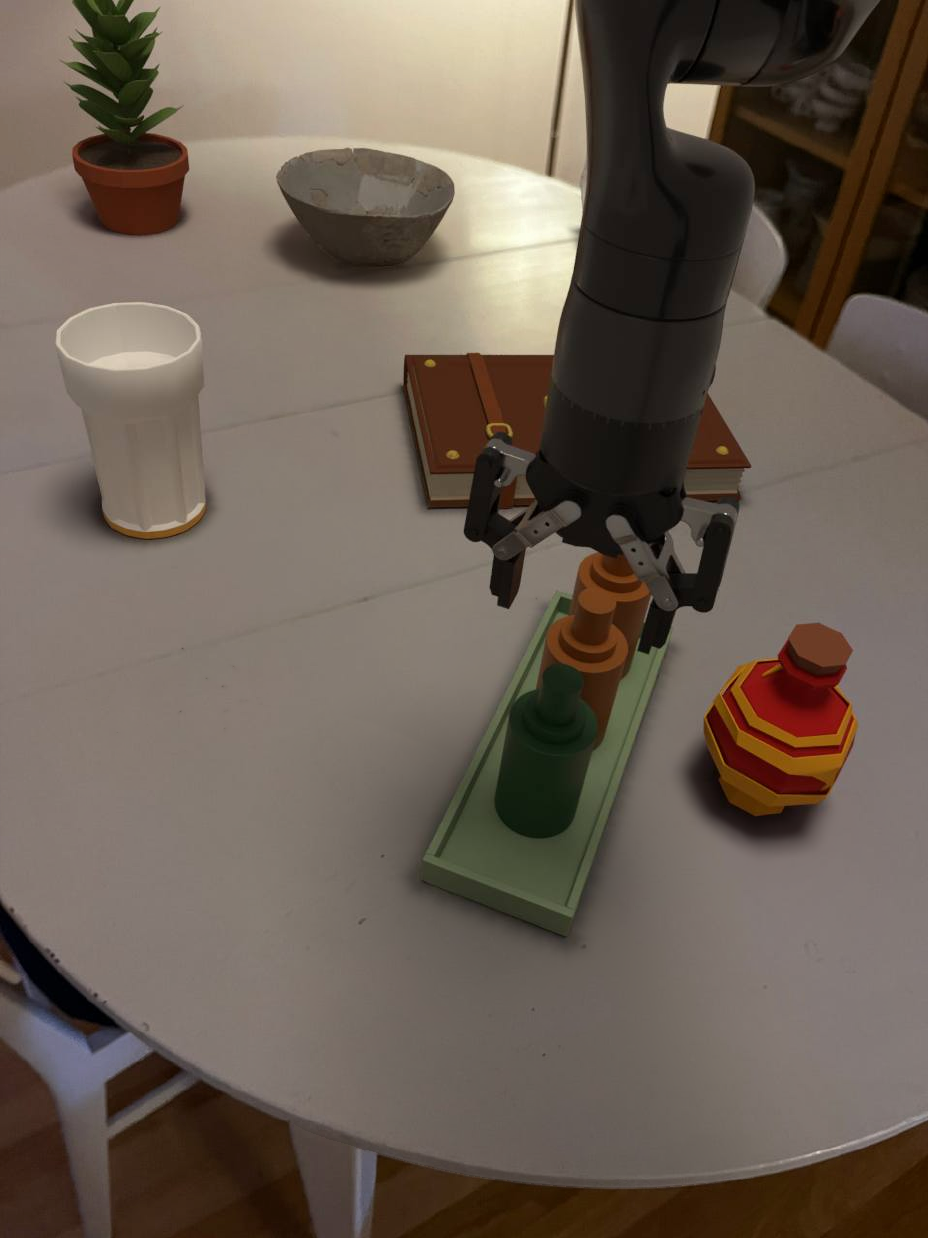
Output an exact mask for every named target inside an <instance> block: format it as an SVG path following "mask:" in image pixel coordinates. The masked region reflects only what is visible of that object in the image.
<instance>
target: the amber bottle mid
mask: <svg viewBox="0 0 928 1238" xmlns="http://www.w3.org/2000/svg"><path fill="white" fill-rule="evenodd" d="M615 608H616V600H615V598H614V596H613V595H612V594H611V593H609V592H608V591H606V590H603V589H600V588H588V589H585V590H583V591H582V592H581V593H580V594H579V596H578V600H577V605H576V609H575V614H574V615H570V616H566V617H563V618H561V619H559V620H557V621H556V622H554V623H553V624H552V625H551V626H550V628H549V630H548V632H547V635H546V640H545V645H544V650H543V655H542V660H541V665H540V670H539V675H538V680H537V685H536V689H540V684H541V679H542V674H543V672H544V670H545V669H546V668H547V667H549V666H550V665H553V664H567V665H570V666H573V667H574V668H576V669H577V670H578V671H579V672H580V673H581V674H582V676H583V679H584V684H583V688H582V692H581V696H580V698H581V699H582V700H583V701H585V702H586V703H587V704H588V705H589V706H590V708H591V709H592V710H593V712H594V714H595V716H596V718H597V722H598V732H597V736H596V740H595V744H594V747H593V750H595V749H596V748H597V747H598V746H599V745H600V744H601V743H602V741H603V739H604V736H605V733H606V729H607V726H608V722H609V719H610V715H611V711H612V708H613V704H614V701H615V697H616V694H617V690H618V686H619V683H620V679H621V676H622V672H623V668H624V665H625V661H626V658H627V654H628V644H627V640H626V638H625V636H624V635H623V633H622V632H621V631H620V630H619V629H618V628H617V627H616V626H614V625H613V624H612V620H613V616H614V612H615Z"/></svg>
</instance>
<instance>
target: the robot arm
mask: <svg viewBox="0 0 928 1238" xmlns="http://www.w3.org/2000/svg"><path fill="white" fill-rule="evenodd" d="M880 1H881V0H573V3H574V5H573V6H574V14H575V23H576V24H575V25H576V31H577V32H576V33H577V39H578V47H579V48H578V50H579V56H580V64H581V73H582V84H583V93H584V94H583V95H584V110H585V130H586V131H585V133H586V170H587V175H586V190H585V199H584V205H583V210H581V211H582V212H581V213H582V215H581V220H580V226H579V234H578V240H577V245H576V252H575V256H574V264H573V269H572V270H573V271H572V274H571V279H570V284H569V287H568V291H567V293H566V297H565V300H564V303H563V307H562V310H561V315H560V316H559V322H558V327H557V332H556V337H555V338H556V339H555V347H554V351H553V355H554V357H553V364H552V370H551V376H550V383H549V389H548V395H547V402H546V408H545V414H544V421H543V427H542V433H541V440H540V446H539V450H538V451H537V452H536V453H535V454H534V453H531V452H528V451H525V450H522V449H519V448H517V447H514V446H512V439H511V437H510V436H509V435H508V434H506V433H504V432H496V433H494V434H493V436H492V437H491V439H490V440H489V441H488V443H487V444H486V446H485V447H484V449H483V450H482V451H481V453H480V454H479V456H478V457H477V459H476V464H475V470H474V475H473V481H472V486H471V492H470V497H469V503H468V506H467V509H466V515H465V520H464V525H463V535H464V537H465V538H466V539H467V540H468V541H470V542H473V543H479V542H482V543H484V544H485V545H486V546H488V547H489V548H490V549H491V551H492V554H493V558H492V565H491V573H490V580H489V587H488V588H489V591H490V594H491V596H494V597H497V602H496V606H497V607H500V608H504V609H506V610H509V609H510V608H511V607H512V604H513V602H514V601H515V599H516V598H517V595H518V593H519V590H520V588H521V583H522V575H523V571H524V563H525V558H526V551H527V548H534V547H535V546H537V545H538V544H540V543H541V542H543V541H544V540H545V539H547V538H549V537H550V536H552V535H554V534H556V535H557V536H558V537H560V538H561V539H562V540H561V543H563V544H566V545H569V546H573V547H579V548H589V549H592V550H594V551H596V553H597V552H599V553H601V554H603V555H606V556H609V557H612V558H616V559H617V557H618V555H625V557H626V559H627V560H628V562H629V564H630V566H631V568H632V570H633V571H634V573H635V575H636V577H637V579H638V580H639V581H644V582H645V584H646V586H647V588H648V589H649V591H650V593H651V597H652V600H651V601H650V603H649V606H648V609H647V613H646V616H645V618H646V621H645V625H644V628H643V632H642V635H641V639H640V642H639V646H638V650H637V651H639V652H642V653H645V654H648V655H649V653H650V650H651V648H652V647H655V648H658V649H660V648H661V647H663V646H664V645H665V643H666V640H667V638H668V635H669V632H670V629H671V626H672V625H673V623H674V619H675V615H676V612H677V610H679V609H680V608H684V607H692V609H693V610H694V611H696V612H698V613H703V614H705V613H706V614H707V613H709V612H711V611H712V610H713V609H714V606H715V603H716V598H717V595H718V591H719V588H720V586H721V583H722V580H723V576H724V572H725V569H726V564H727V560H728V557H729V552H730V549H731V545H732V540H733V537H734V533H735V528H736V524H737V521H738V516H739V512H740V508H741V505H740V503H739V500H736V499H735V498H733V497H729V496H725V497H721V498H720V499H719V500H716V503H715V502H710V501H702V500H698V499H693V498H689V497H687V494H686V491H685V488H684V476H685V472H686V469H687V465H688V461H689V458H690V454H691V451H692V447H693V443H694V440H695V436H696V433H697V429H698V425H699V422H700V418H701V415H702V411H703V407H704V404H705V400H706V397H707V393H708V394H709V390H710V388H711V387H712V385H713V383H714V380H715V376H716V371H717V370H716V369H717V368H716V367H717V361H718V357H719V352H720V348H721V342H722V336H723V329H724V320H725V312H726V308H727V303H728V299H729V296H730V292H731V290H732V289H731V288H732V285H733V282H734V278H735V274H736V270H737V267H738V263H739V260H740V256H741V253H742V249H743V245H744V242H745V238H746V234H747V231H748V227H749V223H750V220H751V219H750V218H751V215H752V212H753V207H754V206H753V205H754V199H755V193H756V182H755V176H754V174H753V171H752V168H751V167H750V165H749V163H748V162H747V160H745V159H744V158H743V157H742V156H741V155H740V154H738V153H737V152H736V151H735V150H733V149H731V148H730V147H727V146H725V145H723V144H720V143H717V142H715V141H713V140H711V139H708V138H704V137H701V136H697V135H693V134H691V133H687V132H684V131H680V130H677V129H674V128H671V127H668V126H667V124H666V119H665V113H664V112H665V111H664V103H665V96H666V91H667V88H668V85H671V84H672V85H673V84H675V85H697V86H698V85H700V86H725V87H750V88H753V87H756V88H764V87H765V88H767V87H776V86H782V85H786V84H791V83H794V82H797V81H800V80H803V79H805V78H808V77H811V76H813V75H815V74H817V73H819V72H821V71H822V70H824V69H826V68H827V67H829V66H830V65H832V64H833V63H834V62H835V61H837V59H838V58H840V56H841V55H842V54H843V53H844V52H845V50H846V49H847V47H848V46H849V45H850V43H851V42H852V41H853V39H854V37H855V36H856V34H857V33H858V32H859V30H860V29H861V27H862V26H863V24H864V23H865V22H866V20H867V19H868V17H869V16H870V15H871V13H872V12H873V11H874V9H875V8H876V7H877V5H878V4H879V3H880ZM519 475H524V476H526V481H527V484H528V486H529V488H530V490H531V491H532V493H533V495H534V497H535V499H536V500H535V501H534V502H533V503H532V504H531V505H528V507H527V508H524V509H523V510H522V511H521V512H519V513H518V514H517V515H514V517H512V518H511V519H507V517H505V516H503V515H501V514H500V513H499V512H500V511H499V510H500V508H499V506H500V502H501V497H502V492H503V487H504V486H509V485H510V484H511V483H512V482H513V480H514V479H515V477H516V476H519ZM680 522H683V523H685V524H686V525H687V526H688V527H689V529H690V535H691V536H690V537H691V539H692V541H694V544H695V545H696V546H697V547H699V548H702V551H701V555H700V559H699V564H698V568H697V573H694V572H693V573H692V572H691V573H690V572H686V570H685V569H684V567H683V564H682V563H681V561H680V559H679V557H678V555H677V553H676V551H675V544H674V540H673V537H672V534H671V533H670V530H672V529H673V528H675V527H677V525H678V524H679V523H680ZM672 627H673V626H672Z"/></svg>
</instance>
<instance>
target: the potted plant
mask: <svg viewBox="0 0 928 1238" xmlns="http://www.w3.org/2000/svg"><path fill="white" fill-rule="evenodd" d="M134 1H135V0H118V1H117V3H116V4H115V1H114V0H71V3H72V5H73V6H74V7H75V8H76V10H77V11H78V13H79V14H80V15H81V17H82V18H83V19H84V20H85V21H86V23H87V24H88V25H89V26H90V28H91V33H92V36H90V35H89V36H88V35H85V34H83V33H82V32H80V31H79V30H78V29H76V28H74V30H75V32H77V34H78V35H79V36H80V37H81V38H83V39H84V41H76V40H74V39H73V38H72V37H70V36H69V35H67V37H68V38H69V40H70V41H71V43H72V46H73V47H74V49H75V50H77V51H78V52H79V54H80V55H81V56H82V57H84V58H85V60H87V61H88V62H89V64H91V66H90V65H88V64H86V63H83V62H79V61H70V62H65V61H64V60H62V59H59V58H57V61H60V62H61V63H63V64H64V65H66V66H67V67H68V68H70V69H72V70H73V71H75V72H77V73H79V74H80V75H82V76H83V77H85V78H87V79H89V80H91V81H92V82H94V83H96V84H97V85H99V86H100V87H103V88H104V89H105V90H107V91H109V92H111V93H112V94H113V96H114V97H115V99H116V100H118V101H116V100H115V99H113V98H112V97H110V96H108V95H107V94H105V93H104V92H102V91H100V90H98V89H96V88H94V87H91V86H89V85H86V84H80V83H79V84H70V83H68V82H66V81H62V83H64V84H65V85H66V86H68V87H69V88H70V90H71V91H73V92H74V93H76V94H77V95H79V96H81V97H82V98H84V99H82V98H80V97H77V96H74V97H75V98H76V99H77V100H78V102H79V103H78V107H79V108H80V109H81V110H82V111H83V112H85V113H87V114H88V115H89V116H91V117H92V118H93V119H94V120H96V121H97V122H99V123H100V124H101V125H103V126H104V127H105V128H104V127H102V126H100V125H97V126H95V128H96V129H97V130H99V131H100V132H101V134H97V135H92V136H88V137H86V138H84V139H82V140H80V141H78V142H77V143H76V144H75V145H74V146H72V149H71V150H72V151H71V157H72V163H73V167H74V168H73V169H74V171H75V172H76V174H77V175H78V176H79V177H80V178H81V179H82V182H83V184H84V187H85V189H86V191H87V193H88V196H89V198H90V201H91V203H92V205H93V207H94V210H95V213H96V214H97V216H98V217H97V218H98V219H99V221H100V223H101V224H102V225H103V227H104V228H106V229H108V230H110V231H112V232H115V233H119V234H125V235H133V236H139V235H141V236H146V235H147V236H148V235H153V234H159V233H162V232H166V231H169V230H170V229H172V228H173V227H176V225H177V223H178V222H179V217H180V210H181V205H182V199H183V192H184V185H185V179H186V175H187V174H188V173H189V171H190V162H189V153H188V152H189V151H188V148H187V146H186V145H184V144H183V143H182V142H180V141H179V140H176V139H174V138H172V137H170V136H166V135H162V134H157V133H151V132H149V131H150V130H152V129H154V128H155V127H157V126H158V125H159V124H161V123H163V122H164V121H166V120H167V119H169V118H170V117H172V116H173V115H175V114H176V113H177V112H178V111H179V110H180V109H182V108H183V107H184V104H183V105H181V106H179V107H173V106H169V107H168V106H166V107H164V108H161V109H159V110H158V111H156V112H154V113H152V114H150V115H149V116H148V117H146V118H145V115H144V114H142V113H143V112H144V110H145V109H146V107H147V105H148V103H149V102H150V100H151V98H152V97H153V93H154V89H153V88H152V87H151V85H152V84H153V83H154V81H155V79H156V78H157V77H158V75H159V73H160V72H159V70H158V69H159V67H160V65H161V63H160V62H159V63H158V64H157V65H156V66H155V67H154V68H145V65H146V63H147V62H148V60H149V58H150V55H151V54H152V52H153V49H154V47H155V44H156V38H157V37H159V36H160V35H161V34H163V31H160V32H157V30H158V26H156V27H155V29H154V30H153V31H152V32H151V33H148V34H145V35H144V36H143V34H144V32H145V31H146V30H147V29H148V27H150V25H151V24H152V23H153V22H154V20H155V19H156V17H157V15H158V12H159V11H160V9H161V6H159V7H158V8H157V9H156V10H155V11H142V12H139V13H137V14H135V16H134V17H133V18H131V20H130V21H129V19H128V17H127V16H126V15H127V14H128V11H129V9H130V8H131V6H132V4H133V3H134ZM142 36H143V37H142ZM141 114H142V115H141ZM132 128H134V129H132Z"/></svg>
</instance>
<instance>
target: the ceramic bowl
mask: <svg viewBox="0 0 928 1238" xmlns="http://www.w3.org/2000/svg"><path fill="white" fill-rule="evenodd" d="M275 177H276V178H275V179H276V183H277V185H278V188H279V189H280V192H281V195H282V197H283V198H284V200H285V202H286V204H287V205H288V207H289V209H290V210H291V213H292V214H293V215H294V217H295V218H296V220H297V222H298V224H299V225H300V226H301V227H302V229H303V230H304V231H305V233H306V235H308V236H309V238H310V239H311V241H313V242H314V243H315V244H316V245H317V246H318V247H319V248H320V249H321V251H322V252H324V253H325V254H326V255H328V256H329V257H331V258H333V259H334V260H336V261H339V262H340V263H343V264H346V265H348V266H353V267H354V266H355V267H365V268H366V267H367V268H386V267H387V268H388V267H397V266H399V265H402V264H404V263H406V262H408V261H409V260H410V259H412V257H414V256H415V255H416V254H418V253H419V252H420V251H421V250H422V249H423V247H424V246H425V245H426V244H427V243H428V241H429V240H430V239H431V237H432V236H433V235H434V233H435V232H436V230H437V228H438V227H439V225H440V224H441V223H442V221H443V219H444V217H445V215H446V213H447V212H448V210H449V208H450V207H451V204H452V203H453V202H454V198H455V193H456V190H455V183H454V181H453V179H452V178H451V176H450V175H449V174H448V173H447V172H446V171H444V170H443V169H441V168H440V167H438V166H436V165H433V164H432V163H429V162H425V161H424V160H420V159H416V158H415V157H412V156H408V155H404V154H400V153H394V152H391V151H390V152H389V151H387V152H386V151H383V150H378V149H373V148H368V147H367V148H366V147H353V148H350V147H344V148H330V149H329V148H328V149H318V150H313V151H309V152H305V153H303V154H299V156H294V157H291V158H289V159H288V161H285V162H284V163H283V165H281V166H280V169H278V171H277V173H276V176H275Z"/></svg>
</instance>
